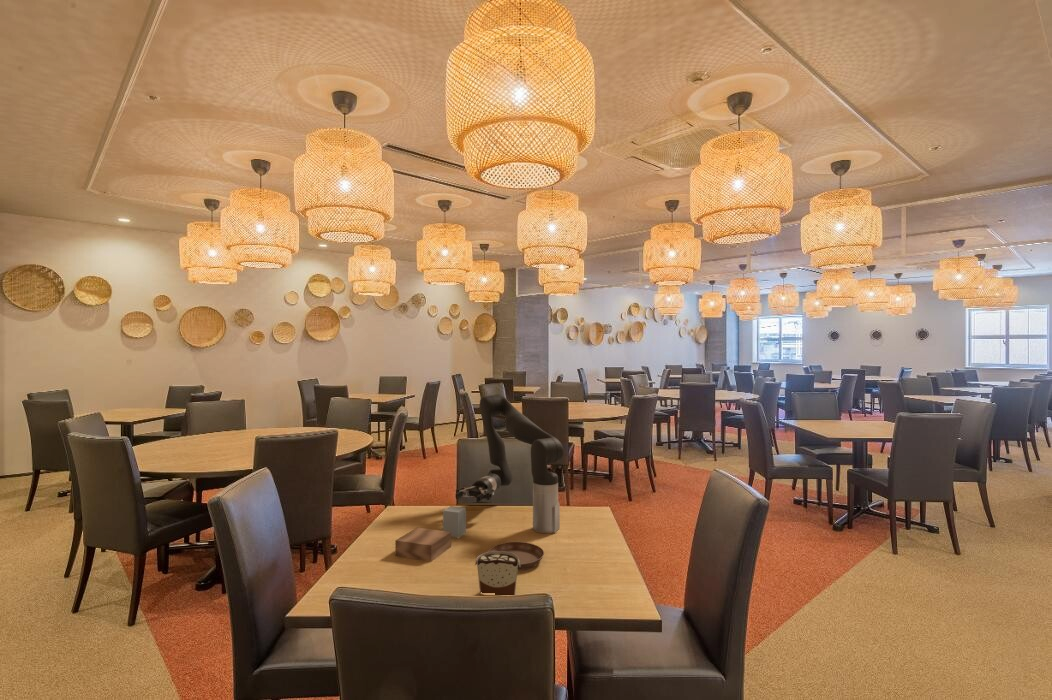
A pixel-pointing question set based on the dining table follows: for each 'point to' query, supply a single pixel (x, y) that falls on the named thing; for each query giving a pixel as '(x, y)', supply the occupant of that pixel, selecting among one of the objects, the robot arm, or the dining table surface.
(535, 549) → the plant saucer
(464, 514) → the slate block
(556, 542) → the dining table surface
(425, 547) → the walnut block
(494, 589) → the cake slice
